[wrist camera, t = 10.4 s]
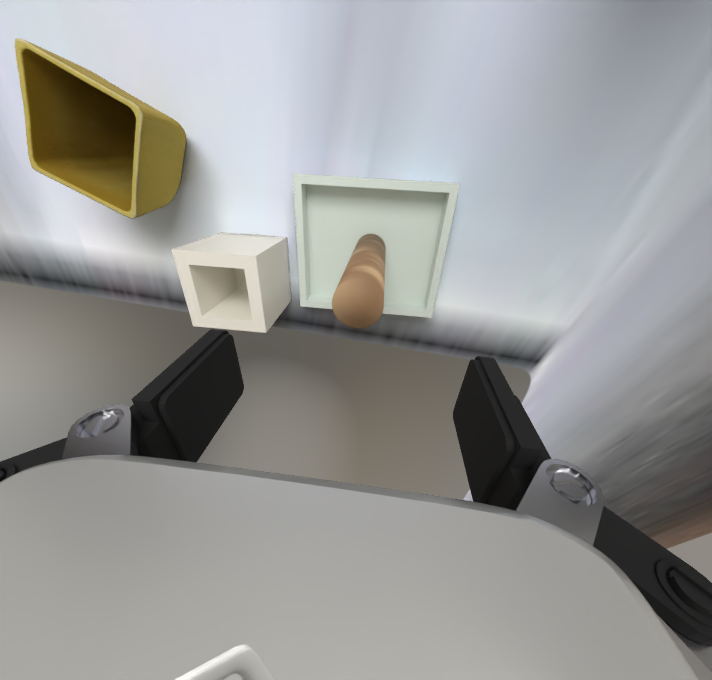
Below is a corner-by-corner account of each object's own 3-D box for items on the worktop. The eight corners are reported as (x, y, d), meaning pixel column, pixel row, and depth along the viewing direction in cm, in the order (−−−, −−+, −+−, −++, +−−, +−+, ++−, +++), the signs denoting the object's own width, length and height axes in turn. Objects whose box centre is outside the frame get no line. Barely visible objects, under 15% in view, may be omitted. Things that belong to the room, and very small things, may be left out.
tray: (453, 183, 28) (460, 183, 26) (428, 308, 35) (431, 317, 33) (300, 173, 29) (292, 173, 27) (306, 297, 36) (300, 306, 34)
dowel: (387, 234, 31) (386, 282, 17) (384, 265, 32) (381, 330, 19) (356, 232, 31) (332, 277, 17) (355, 262, 33) (331, 325, 19)
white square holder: (286, 237, 33) (255, 255, 25) (291, 299, 37) (266, 332, 29) (221, 232, 33) (171, 249, 25) (233, 295, 37) (193, 326, 30)
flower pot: (194, 210, 32) (133, 221, 24) (117, 170, 31) (27, 167, 23) (209, 126, 28) (141, 107, 20) (121, 74, 26) (11, 32, 19)
